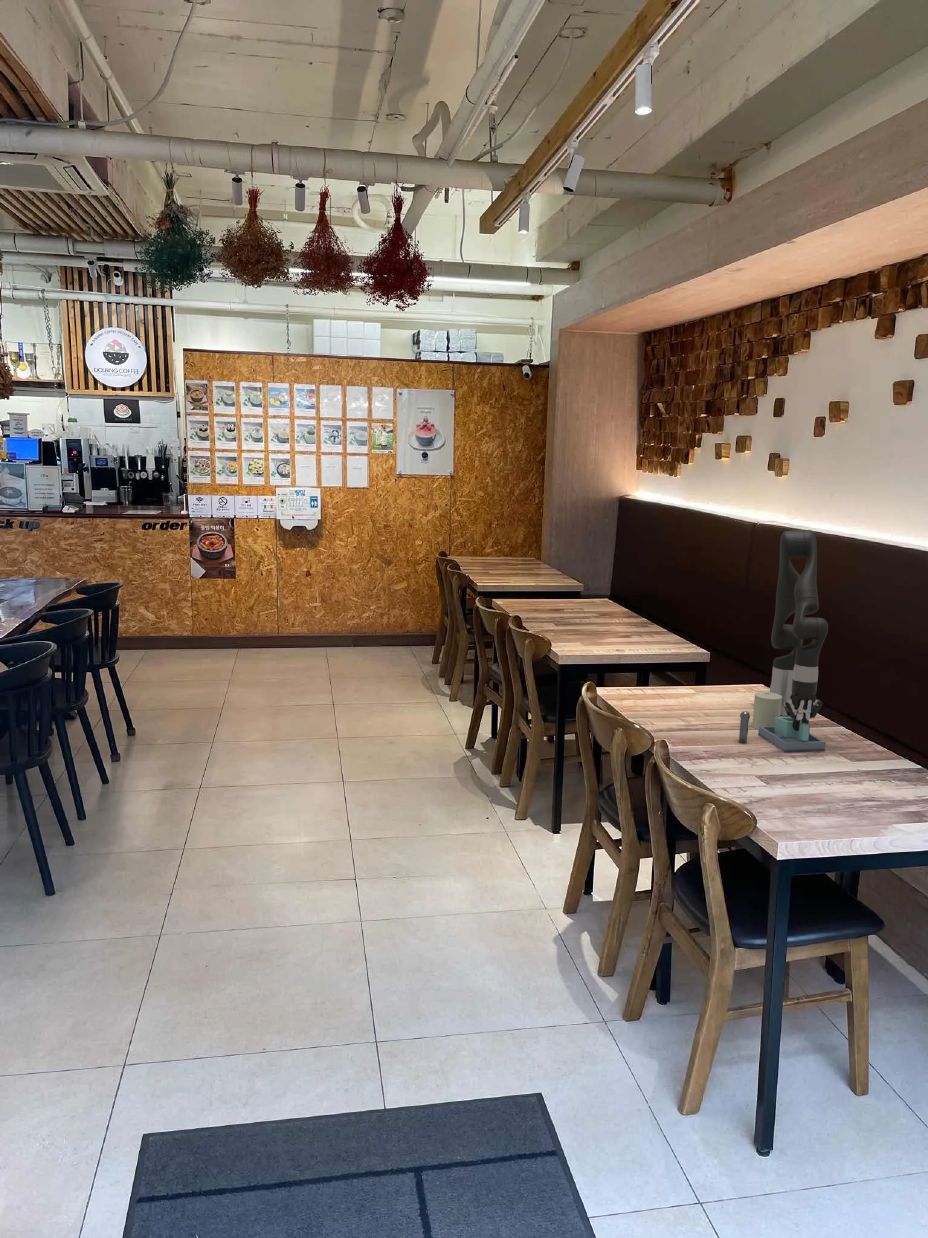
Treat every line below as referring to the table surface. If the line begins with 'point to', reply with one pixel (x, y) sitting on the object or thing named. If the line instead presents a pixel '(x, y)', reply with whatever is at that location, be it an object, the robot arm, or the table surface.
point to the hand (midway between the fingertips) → (799, 730)
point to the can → (766, 709)
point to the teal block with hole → (791, 728)
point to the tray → (791, 741)
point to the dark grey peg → (744, 726)
